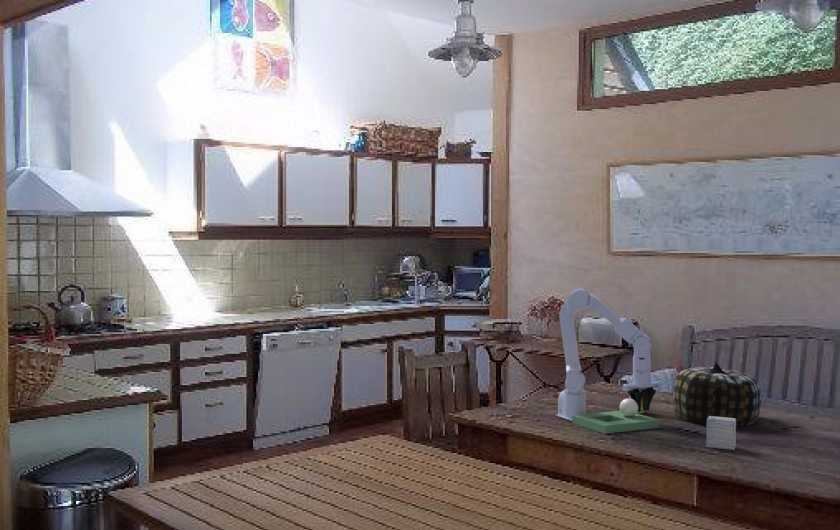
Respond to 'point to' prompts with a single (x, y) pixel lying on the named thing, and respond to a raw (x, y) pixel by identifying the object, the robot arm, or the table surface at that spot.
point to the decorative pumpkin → (716, 395)
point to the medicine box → (721, 432)
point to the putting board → (614, 422)
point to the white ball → (628, 407)
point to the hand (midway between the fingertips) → (641, 410)
